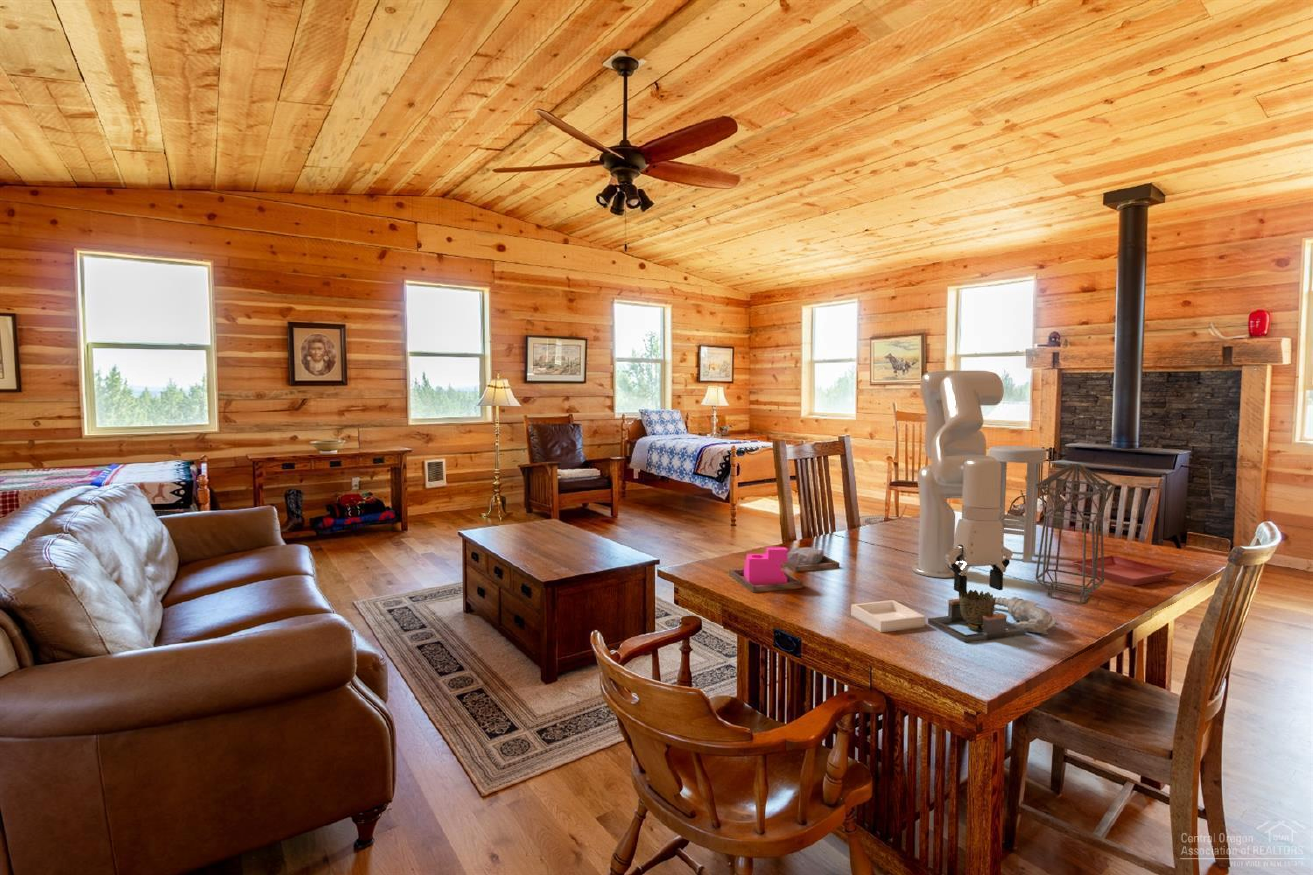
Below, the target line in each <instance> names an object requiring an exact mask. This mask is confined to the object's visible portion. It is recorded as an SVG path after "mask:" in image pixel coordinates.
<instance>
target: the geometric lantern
mask: <svg viewBox="0 0 1313 875" xmlns="http://www.w3.org/2000/svg"><path fill="white" fill-rule="evenodd" d="M1066 473H1067V475H1066V477H1065V478H1064V479H1063V478H1061V477H1062V476H1064V475H1065V474H1066ZM1072 473H1073V474H1072ZM1080 473H1081V474H1082V476H1083V478H1084V479H1085V481H1080ZM1071 475H1072V480H1071V481H1070V480H1068V479H1069V477H1070V476H1071ZM1099 479H1100V480H1101V481H1102V482H1101V481H1099ZM1054 481H1056V482H1057V483H1059V484H1060V485H1059V486H1058V487H1052V486H1051V483H1053V482H1054ZM1066 483H1067V484H1071V487H1070V486H1069V485H1067V484H1066ZM1080 484H1082V485H1089V487H1088V490H1087V491H1078V490H1079V486H1080ZM1075 485H1076V488H1075ZM1034 486H1035V487H1037V488H1038V492H1040V495H1041V502H1042V503H1041V505H1042V514H1043V515H1042V516H1044V517H1043V524H1042V531H1041V537H1040V543H1039V544H1040V545H1039V551H1038V557H1037V558H1038V559H1037V565H1036V571H1035V578H1034V579H1035V580H1036V581H1037V582H1038V583H1039V585H1041V586H1042V587H1044V588H1045V589H1046V591H1047V594H1046V595H1045V596H1046V597H1047V598H1051V599H1057V600H1061V601H1067V602H1072V603H1077V604H1085V603H1086V602H1087V601H1088V599H1089V596H1090V593H1092V592H1095V591H1096V590H1097V589H1098V588H1099V587H1100V586H1102V585H1103V583H1105V579H1104V556H1105V554H1104V549H1105V548H1104V517H1103V516H1104V511H1105V508H1106V505H1107V503H1108V501H1109V499H1110V497H1111V495H1112V493H1113V492H1114V490H1115V488H1116V484H1115V483H1113V482H1111V481H1110V480H1108V479H1106V478H1104V477H1103V476H1100V475H1099V474H1097V473H1095V472H1093V471H1091V470H1090V469H1088V468H1086V467H1084V466H1083V465H1081V464H1079V463H1070V464H1068V465H1067V466H1065V467H1063V468H1062V469H1060V470H1058V471H1056V472H1055V473H1053V474H1051V475H1050V476H1048V477H1046V478H1045V479H1043V480H1040V481H1038V483H1037V484H1035V485H1034ZM1063 486H1064V487H1065V488H1067V489H1068V490H1070V491H1065V490H1061V489H1062V488H1063ZM1108 487H1110V488H1108ZM1074 488H1075V489H1074ZM1091 488H1092V489H1093V490H1094V491H1091ZM1051 490H1053V491H1056V494H1055V495H1056V496H1055V495H1054V494H1053V493H1052V492H1050V491H1051ZM1059 493H1061V494H1066V495H1067V494H1068V496H1069V497H1068V498H1067V500H1061V499H1060V498H1059ZM1100 494H1102V503H1101V506H1100V507H1099V508H1098V506H1097V504H1096V502H1095V500H1094V499H1093V497H1094V496H1096V495H1100ZM1075 495H1080V496H1081V497H1079V498H1076V499H1073V500H1072V498H1073V497H1074V496H1075ZM1044 496H1050V498H1051V500H1052V502H1053V504H1054V506H1055V507H1054V508H1051V509H1049V510H1048V511H1046V507H1045V497H1044ZM1088 498H1090V499H1091V502H1092V503H1093V505H1094V507H1095V509H1096V510H1097V512H1089V511H1080V510H1079V509H1078V508H1079V507H1077V505H1076V504H1075V503H1077V502H1079V501H1083V500H1084V499H1088ZM1055 500H1056V501H1057V503H1058V504H1057V503H1056V501H1055ZM1061 504H1063V505H1062V506H1061V507H1060V508H1059V506H1060V505H1061ZM1068 504H1072V506H1073V507H1074V510H1073V509H1066V508H1065V507H1066V506H1067V505H1068ZM1064 511H1065V512H1073V513H1077V514H1078V516H1080V520H1079V519H1075V518H1066V517H1064ZM1057 512H1060V516H1056V515H1057ZM1048 513H1050V514H1048ZM1083 514H1089V515H1095V517H1094V518H1093V520H1086V519H1085V518H1084V516H1083ZM1050 518H1051V519H1052V520H1051V521H1052V522H1051V528H1050V529H1051V530H1050V538H1049V537H1048V536H1049V523H1050V522H1049V521H1050ZM1056 519H1059V520H1060V522H1059V531H1058V542H1057V552H1056V562H1055V569H1051V568H1049V567H1050V560H1051V553H1052V546H1053V538H1054V530H1055V524H1056V523H1055V522H1056ZM1081 519H1082V520H1081ZM1063 520H1065V521H1066V520H1067V521H1074V522H1079V523H1083V542H1082V543H1083V545H1082V546H1083V547H1082V553H1083V554H1082V560H1083V573H1078V572H1073V571H1068V570H1067V571H1066V570H1060V569H1059V562H1060V554H1061V553H1060V552H1061V551H1060V550H1061V542H1062V531H1063V530H1062V529H1063ZM1095 523H1096V524H1095ZM1087 524H1091V542H1092V543H1091V550H1092V551H1091V552H1092V553H1091V559H1092V575H1090V574H1086V573H1085V561H1086V557H1087V556H1086V553H1087ZM1095 525H1096V526H1095ZM1095 528H1096V530H1095ZM1095 531H1096V532H1095ZM1095 534H1096V535H1095ZM1048 538H1049V544H1048ZM1099 539H1100V557H1101V569H1102V578H1101V577H1097V560H1098V557H1099ZM1043 544H1044V546H1043ZM1043 547H1044V548H1043ZM1047 549H1048V552H1047ZM1043 550H1044V551H1043ZM1042 552H1043V561H1042V562H1043V563H1042V572H1041V573H1040V574H1039V572H1040V566H1041V565H1040V564H1041V557H1042ZM1049 572H1054V579H1053V578H1052V575H1051V574H1050V573H1049ZM1057 572H1058V573H1062V574H1068V575H1074V576H1079V577H1082V582H1081V583H1082V585H1079V584H1072V583H1067V582H1060V581H1058V579H1057ZM1046 574H1047V576H1048V577H1049V579H1050V580H1051V581H1047V580H1045V579H1046ZM1040 578H1041V579H1040ZM1086 578H1089V579H1090V580H1089V582H1088V583H1087V584H1086ZM1096 580H1098V582H1097V583H1096ZM1090 584H1092V586H1090ZM1048 585H1049V586H1048ZM1058 587H1061V588H1066V589H1071V590H1075V591H1070V590H1065V589H1060V588H1058ZM1079 587H1080V588H1079ZM1077 591H1079V592H1077ZM1053 592H1055V593H1060V594H1065V595H1070V596H1076V597H1079V601H1077V600H1073V599H1067V598H1061V597H1057V596H1053ZM1082 597H1083V600H1082Z"/></svg>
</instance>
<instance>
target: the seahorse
mask: <svg viewBox="0 0 1313 875" xmlns="http://www.w3.org/2000/svg"><path fill="white" fill-rule="evenodd" d="M994 598H995V597H993V599H994ZM996 605H997V606H1000V607H1002V606H1003V607H1005V608H1007V611H1008V614H1009V615H1010V617H1012V619H1013V621H1015V622H1011V623H1012V624H1015V625H1017V626H1019V627H1021V628H1024V629H1026V632H1028V633H1036V634H1037V633H1038V634H1043V635H1049V633H1048V632H1047V631H1048V630H1049V629H1050V628H1052V627H1054V625H1055V624H1056V623H1057V618H1056V617H1055V615H1053V614H1052V613H1051V612H1049V611H1048V610H1047V609H1045V608H1043V607H1040V606H1038V603H1037V602H1036V601H1034V600H1029V599H1028V600H1027V599H1023V598H1019V597H1017V596H1015V597H1014V596H1013V597H1012V598H1006V597H1000V596H999V597H996V600H995V606H994V611H993V613H995V612H996V610H997V608H996Z"/></svg>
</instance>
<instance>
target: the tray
mask: <svg viewBox="0 0 1313 875" xmlns="http://www.w3.org/2000/svg"><path fill="white" fill-rule="evenodd" d="M850 612H851V613H850V615H851V616H852V617H854V618H856V619H857V620H859V621H860V622H862V623H864V624H865V625H867V626H869V627H871V628H872V629H874V630H876V631H877V632H879V633H887V632H895V631H896V632H897V631H902V630H903V631H906V630H911V629H912V630H913V629H919V628H920V629H921V628H925V627H926V616H925V615H924V614H921V613H920V612H917V611H916V610H914V609H911V608H910V607H908V606H906V605H903V604H901V603H900V602H897V601H896V600H893V599H889V600H882V601H872V602H871V601H870V602H863V603H853V604H851V605H850Z"/></svg>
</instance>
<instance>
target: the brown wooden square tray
mask: <svg viewBox="0 0 1313 875" xmlns="http://www.w3.org/2000/svg"><path fill="white" fill-rule="evenodd" d="M783 572H784V574H785V575H786V577H787V583H779V584H768V585H758V586H754V585H753V584H751V583H750V582H749V581H747V580H746V578H745V577H743V576H744V568H735V569H729V570H728V575H729V577H731V578H733V579H734V580H735V581H736V582H738V583H740V584H741V585H742V586H744V587H745V588H746V589H748V590H749V591H751V592H752V593H763V592H771V591H782V590H792V589H803V587H804V586H803V585H804V583H803V581H801V580H800V579H798V578H796V577H794V576H793V575H791V574H790V573H789V572H786V571H784V570H783ZM742 575H743V576H742Z"/></svg>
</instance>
